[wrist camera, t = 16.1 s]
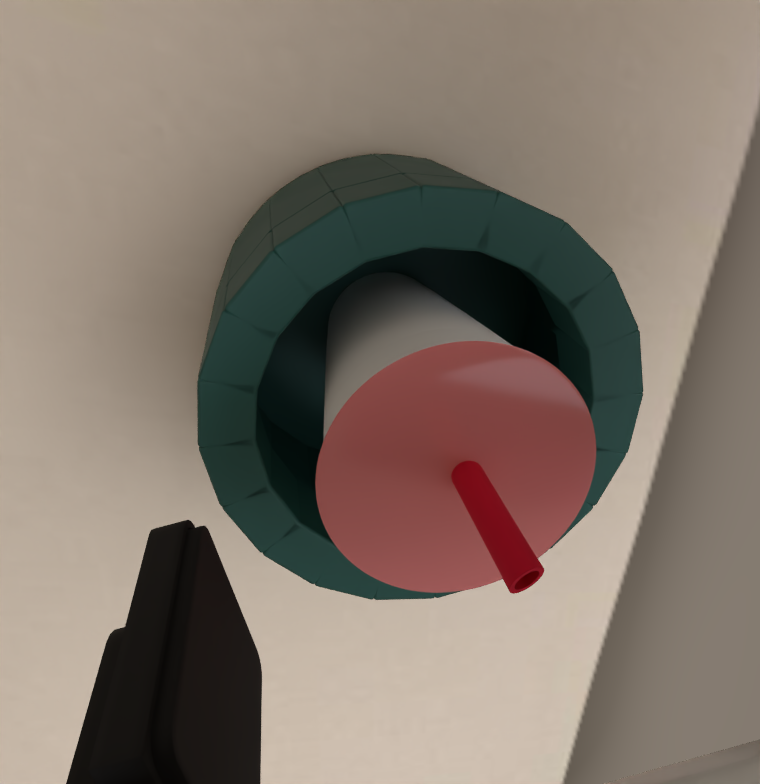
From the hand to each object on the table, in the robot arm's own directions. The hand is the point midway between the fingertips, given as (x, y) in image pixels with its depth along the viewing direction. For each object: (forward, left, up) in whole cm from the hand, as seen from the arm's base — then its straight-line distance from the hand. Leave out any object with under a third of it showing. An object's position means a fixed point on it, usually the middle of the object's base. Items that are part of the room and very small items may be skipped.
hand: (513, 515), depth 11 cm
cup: (+1, 0, -11) cm, 11 cm away
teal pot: (0, 0, -12) cm, 12 cm away
